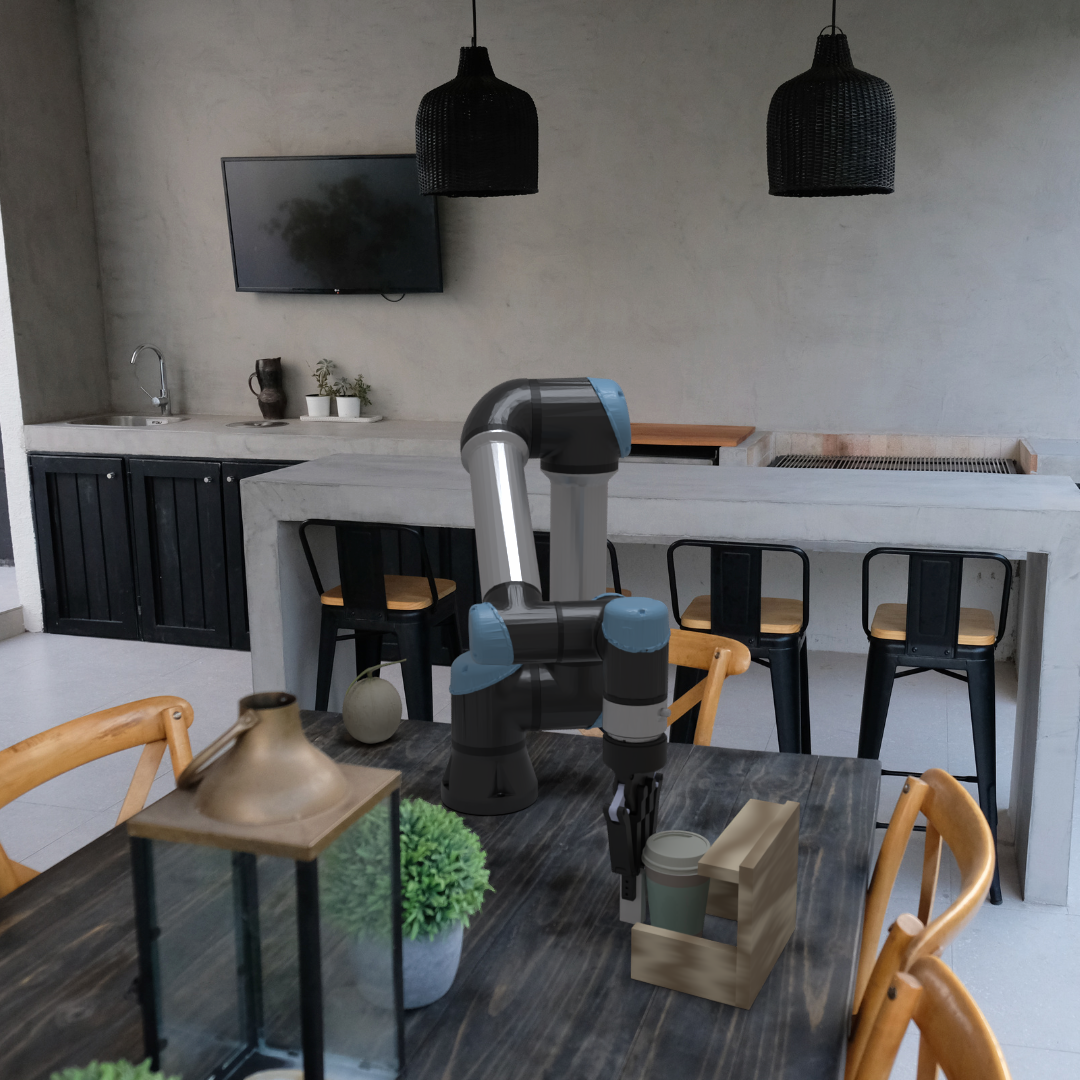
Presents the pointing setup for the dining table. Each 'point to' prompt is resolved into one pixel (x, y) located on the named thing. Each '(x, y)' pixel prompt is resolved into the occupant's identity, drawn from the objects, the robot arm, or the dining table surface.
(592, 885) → the dining table surface
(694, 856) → the coffee cup
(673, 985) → the nook
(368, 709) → the fruit
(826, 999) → the dining table surface
